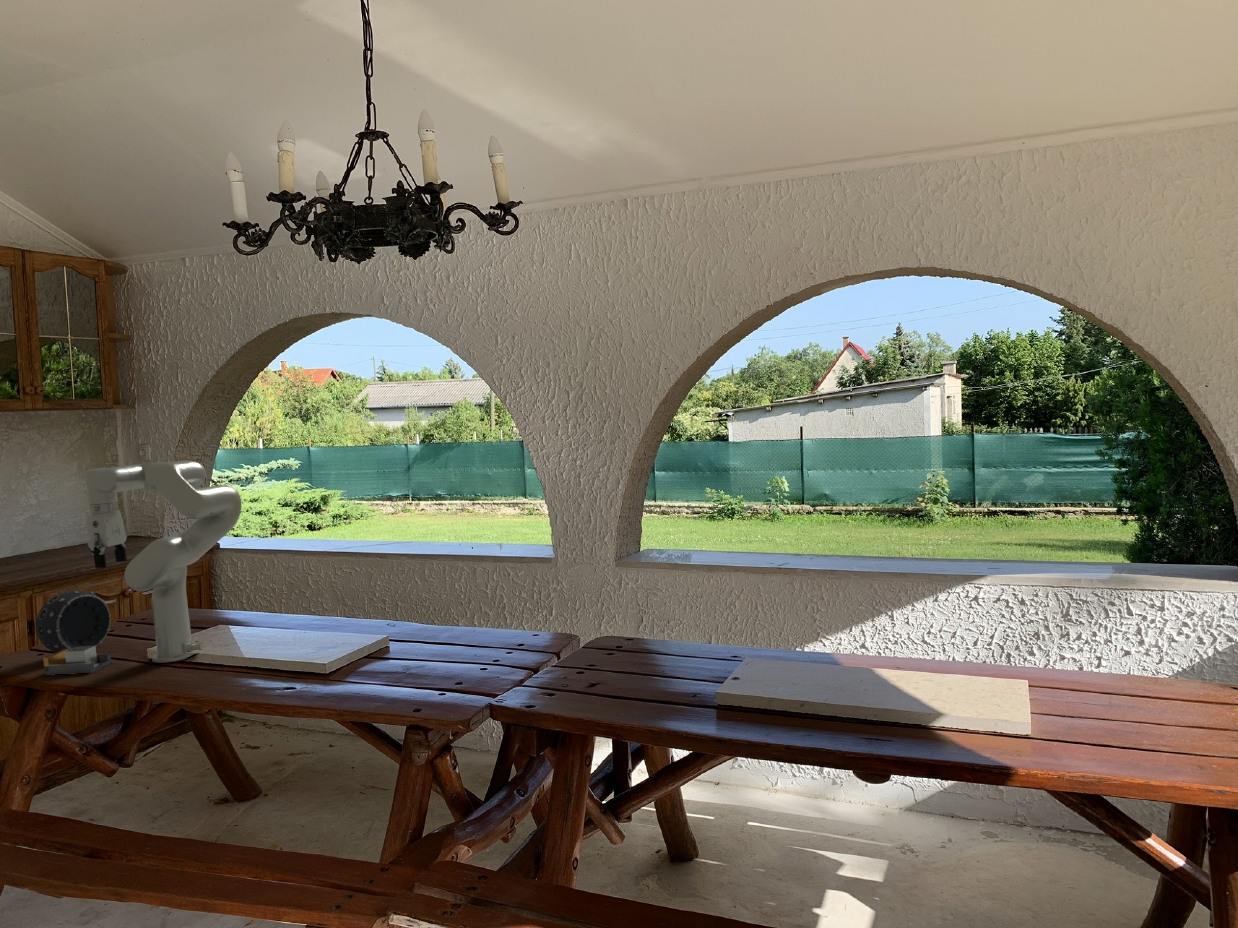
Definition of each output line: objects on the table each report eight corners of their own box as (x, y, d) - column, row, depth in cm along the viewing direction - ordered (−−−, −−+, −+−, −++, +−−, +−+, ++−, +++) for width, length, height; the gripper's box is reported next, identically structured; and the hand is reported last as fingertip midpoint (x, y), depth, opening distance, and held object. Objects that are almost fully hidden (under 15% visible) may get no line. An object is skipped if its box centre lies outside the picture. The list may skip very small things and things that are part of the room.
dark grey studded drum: (119, 645, 288) (111, 584, 286) (57, 664, 270) (49, 599, 268) (97, 643, 293) (89, 583, 291) (35, 662, 275) (26, 598, 273)
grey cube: (97, 662, 265) (95, 645, 264) (86, 667, 260) (84, 650, 259) (76, 663, 265) (74, 646, 265) (64, 668, 260) (62, 651, 260)
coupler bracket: (111, 663, 266) (109, 646, 266) (91, 673, 257) (89, 655, 257) (66, 665, 268) (64, 648, 267) (45, 675, 259) (43, 658, 258)
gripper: (97, 512, 262) (104, 569, 264) (133, 504, 280) (140, 558, 281) (73, 513, 263) (80, 571, 264) (110, 505, 280) (117, 559, 282)
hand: (111, 564), depth 273 cm, fingers open, 9 cm apart
